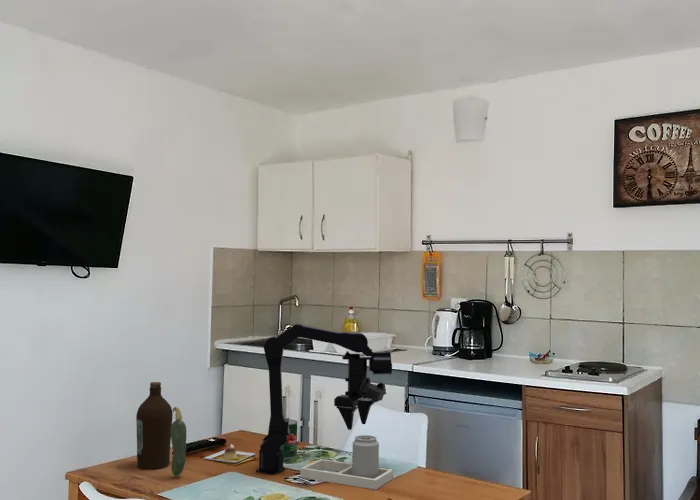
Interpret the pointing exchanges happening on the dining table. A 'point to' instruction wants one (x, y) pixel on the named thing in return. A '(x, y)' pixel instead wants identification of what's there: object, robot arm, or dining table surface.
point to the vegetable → (178, 443)
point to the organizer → (344, 474)
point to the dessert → (229, 454)
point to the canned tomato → (290, 442)
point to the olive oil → (154, 430)
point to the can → (365, 457)
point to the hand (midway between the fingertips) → (356, 426)
